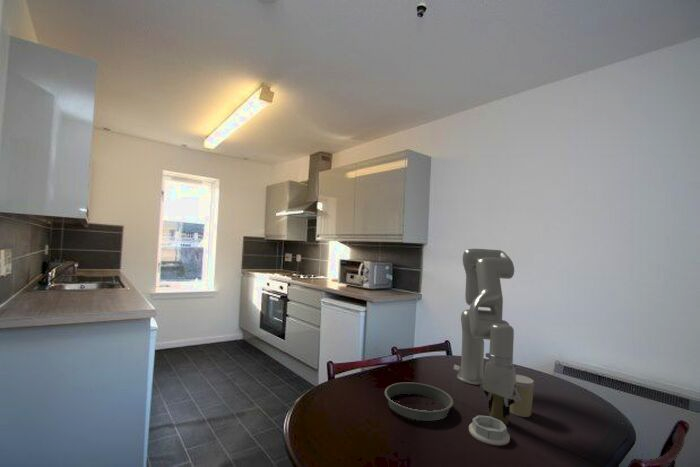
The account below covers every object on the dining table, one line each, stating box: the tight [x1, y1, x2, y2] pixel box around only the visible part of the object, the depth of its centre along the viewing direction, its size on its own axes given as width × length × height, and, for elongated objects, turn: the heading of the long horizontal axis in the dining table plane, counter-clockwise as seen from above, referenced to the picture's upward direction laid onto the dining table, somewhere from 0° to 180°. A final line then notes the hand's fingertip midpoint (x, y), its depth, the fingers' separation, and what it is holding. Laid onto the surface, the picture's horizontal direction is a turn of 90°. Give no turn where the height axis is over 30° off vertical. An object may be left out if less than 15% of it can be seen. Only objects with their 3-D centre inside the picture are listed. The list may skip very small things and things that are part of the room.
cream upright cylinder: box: [510, 374, 535, 418], centre depth 123 cm, size 9×9×12 cm
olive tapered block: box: [489, 393, 509, 426], centre depth 116 cm, size 6×6×11 cm
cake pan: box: [384, 381, 454, 421], centre depth 122 cm, size 25×25×4 cm
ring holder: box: [468, 414, 511, 447], centre depth 106 cm, size 12×12×4 cm
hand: (498, 413), depth 116 cm, fingers closed on olive tapered block, 3 cm apart
